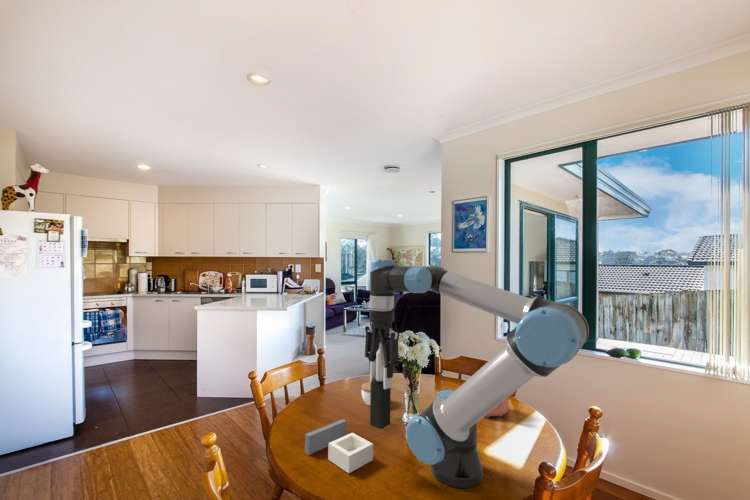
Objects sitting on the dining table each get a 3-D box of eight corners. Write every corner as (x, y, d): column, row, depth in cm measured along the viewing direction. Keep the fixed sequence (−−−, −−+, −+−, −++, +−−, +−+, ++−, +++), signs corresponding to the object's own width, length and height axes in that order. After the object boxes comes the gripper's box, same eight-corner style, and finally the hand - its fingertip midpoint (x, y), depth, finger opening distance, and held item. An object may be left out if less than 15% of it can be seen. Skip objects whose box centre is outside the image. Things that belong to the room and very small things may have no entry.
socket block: (372, 460, 108) (373, 443, 108) (348, 473, 101) (349, 456, 101) (352, 447, 115) (352, 432, 115) (328, 459, 108) (328, 443, 108)
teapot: (490, 401, 155) (490, 374, 156) (517, 422, 136) (516, 390, 136) (463, 403, 153) (463, 376, 153) (486, 424, 133) (486, 393, 134)
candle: (381, 429, 101) (383, 344, 102) (368, 424, 104) (369, 341, 105) (391, 423, 105) (392, 341, 106) (378, 418, 108) (379, 338, 109)
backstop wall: (346, 437, 122) (346, 420, 122) (308, 455, 111) (308, 436, 111) (342, 435, 123) (343, 418, 123) (304, 452, 112) (305, 434, 112)
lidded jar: (389, 402, 154) (389, 380, 154) (376, 410, 145) (377, 388, 145) (369, 396, 160) (369, 376, 160) (356, 404, 150) (356, 383, 151)
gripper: (412, 311, 101) (411, 391, 100) (372, 305, 115) (370, 374, 115) (393, 314, 96) (392, 397, 96) (354, 306, 111) (352, 379, 110)
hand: (380, 384), depth 105 cm, fingers closed on candle, 6 cm apart
